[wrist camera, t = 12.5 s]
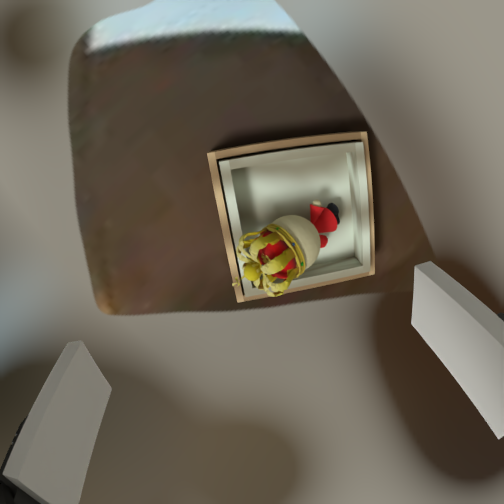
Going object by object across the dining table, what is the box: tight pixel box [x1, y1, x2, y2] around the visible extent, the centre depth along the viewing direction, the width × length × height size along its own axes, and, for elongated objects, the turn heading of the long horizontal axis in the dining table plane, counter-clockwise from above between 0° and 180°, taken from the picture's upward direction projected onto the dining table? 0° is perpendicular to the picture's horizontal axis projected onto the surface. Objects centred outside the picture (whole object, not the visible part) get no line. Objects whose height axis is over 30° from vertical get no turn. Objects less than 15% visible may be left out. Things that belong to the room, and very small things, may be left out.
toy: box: [232, 200, 340, 296], centre depth 33 cm, size 7×7×15 cm
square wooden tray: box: [207, 132, 375, 302], centre depth 36 cm, size 18×18×5 cm
